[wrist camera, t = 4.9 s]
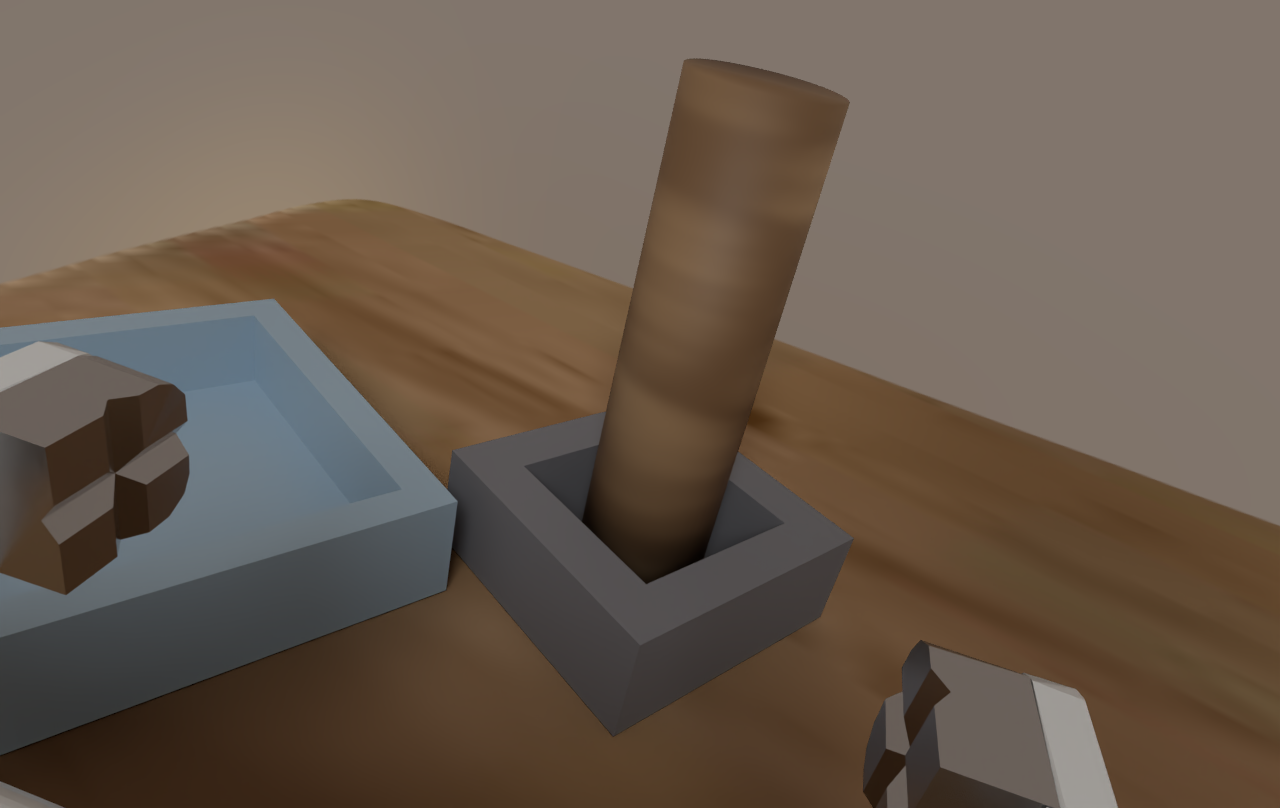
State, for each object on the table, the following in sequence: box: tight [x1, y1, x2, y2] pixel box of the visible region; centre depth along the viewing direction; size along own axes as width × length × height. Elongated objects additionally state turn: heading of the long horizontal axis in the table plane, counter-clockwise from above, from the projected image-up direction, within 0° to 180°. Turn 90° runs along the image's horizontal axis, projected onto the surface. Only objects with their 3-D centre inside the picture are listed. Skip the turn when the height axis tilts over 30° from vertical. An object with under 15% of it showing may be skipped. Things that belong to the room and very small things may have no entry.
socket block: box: [448, 412, 854, 736], centre depth 24 cm, size 8×8×3 cm
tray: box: [0, 299, 458, 755], centre depth 22 cm, size 12×12×3 cm
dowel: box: [582, 59, 850, 584], centre depth 21 cm, size 4×4×14 cm
